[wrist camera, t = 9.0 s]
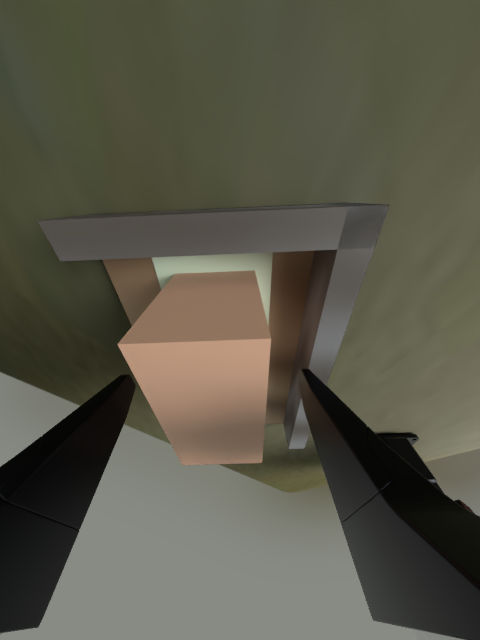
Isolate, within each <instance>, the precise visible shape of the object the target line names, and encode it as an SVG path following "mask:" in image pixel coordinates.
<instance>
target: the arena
mask: <svg viewBox="0 0 480 640" xmlns="http://www.w3.org/2000/svg"><path fill="white" fill-rule="evenodd" d="M388 208H389V205H384V204H364V203H332V204H310V205H288V206H266V207H244V208H222V209H200V210H178V211H156V212H134V213H112V214H90V215H82V216H73V217H65V218H56V219H47V220H39V221H37V222H38V223H39V225H40V227H41V229H42V230H43V232H44V234H45V236H46V237H47V239H48V241H49V242H50V244H51V246H52V248H53V249H54V251H55V253H56V255H57V256H58V258H59V260H60V261H81V260H102V261H103V263H104V265H105V267H106V270H107V272H108V274H109V276H110V278H111V281H112V283H113V285H114V287H115V290H116V292H117V294H118V296H119V299H120V301H121V303H122V305H123V307H124V310H125V312H126V314H127V316H128V319H129V321H130V323H131V325H132V326H133V325H134V323H135V322H136V321H137V320H138V318H139V317H140V316H141V315H142V314H143V312H144V311H145V310H146V309H147V307H148V306H149V305H150V304H151V303H152V301H153V300H154V299H155V298H156V296H157V295H158V294H159V293H160V291H161V290H162V289H163V288H164V287H165V285H166V284H167V283H168V282H169V280H170V279H171V278H172V277H173V276H174V274H179V273H204V272H228V271H252V270H255V273H256V278H257V282H258V286H259V290H260V294H261V298H262V303H263V307H264V311H265V315H266V319H267V324H268V328H269V332H270V336H271V347H270V361H269V375H268V389H267V403H266V416H265V424H284V429H285V434H286V438H287V443H288V448H289V449H304V448H305V445H306V442H307V439H308V436H309V433H310V431H311V430H310V427H309V424H308V421H307V418H306V415H305V412H304V408H303V403H302V398H301V393H300V389H299V384H298V377H299V372H300V369H303V368H308V369H310V370H311V371H312V372H313V373H314V374H315V375H316V376H317V377H318V378H319V379H320V380H321V381H322V382H323V383H324V384H325V385H327V382H328V379H329V376H330V373H331V370H332V368H333V365H334V362H335V359H336V356H337V353H338V350H339V348H340V345H341V342H342V339H343V336H344V333H345V330H346V328H347V325H348V322H349V319H350V316H351V313H352V310H353V308H354V305H355V302H356V299H357V296H358V293H359V290H360V288H361V285H362V282H363V279H364V276H365V273H366V270H367V268H368V265H369V262H370V259H371V256H372V253H373V250H374V248H375V245H376V242H377V239H378V236H379V233H380V230H381V228H382V225H383V222H384V219H385V216H386V213H387V210H388Z"/></svg>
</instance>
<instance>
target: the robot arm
mask: <svg viewBox="0 0 480 640" xmlns="http://www.w3.org/2000/svg"><path fill="white" fill-rule="evenodd" d="M298 384H299V389H300V393H301V398H302V403H303V408H304V412H305V415H306V418H307V421H308V424H309V427H310V430H311V433H312V437H313V440H314V443H315V446H316V449H317V452H318V455H319V458H320V461H321V464H322V467H323V470H324V473H325V476H326V479H327V482H328V485H329V488H330V491H331V494H332V497H333V500H334V503H335V506H336V509H337V513H338V516H339V519H340V522H341V525H342V528H343V531H344V534H345V537H346V540H347V543H348V546H349V549H350V552H351V555H352V558H353V562H354V564H355V568H356V571H357V574H358V577H359V580H360V582H361V586H362V589H363V592H364V595H365V598H366V601H367V604H368V607H369V610H370V613H371V616H372V618H373V620H374V621H377V622H383V623H387V624H392V625H397V626H401V627H406V628H411V629H412V631H413V633H414V636H415V638H416V640H480V517H479V516H477V515H475V514H474V512H473V511H472V510H471V509H470V507H468V506H467V505H466V504H464V503H463V502H462V501H460V500H455V501H453V500H452V499H450V498H449V497H448V496H446V495H445V494H444V493H443V491H442V490H441V488H440V487H439V485H438V484H437V483H436V479H435V477H434V476H433V474H432V473H431V472H430V470H429V469H428V468H427V466H426V465H425V463H424V462H423V460H422V459H421V457H420V456H419V455H418V453H417V452H416V450H415V449H414V447H413V446H412V445H413V444H414V443H415V442H416V441H418V440H419V438H418V436H417V435H416V434H401V435H376V434H375V433H374V432H373V431H372V430H371V429H370V428H369V427H367V425H366V424H365V423H364V422H363V421H362V420H361V419H360V418H359V417H358V416H357V415H356V414H355V413H354V412H353V411H352V410H351V409H350V408H349V407H348V406H346V405H345V404H344V403H343V402H342V401H341V400H340V399H339V398H338V397H337V396H336V395H335V394H334V393H333V392H332V391H331V390H330V389H329V388H328V387H327V386H326V385H325V384H324V383H323V382H322V381H321V380H320V379H319V378H318V377H317V376H316V375H315V374H314V373H313V372H312V371H311V370H310V369H308V368H303V369H300V372H299V377H298ZM135 387H136V386H135V383H134V381H133V379H132V377H131V376H130V375H120V376H119V377H118V378H116V379H115V380H114V381H112V382H111V383H110V384H109V385H107V386H106V387H105V388H103V389H102V390H101V391H99V392H98V393H97V394H96V395H94V396H93V397H92V398H90V399H89V400H88V401H87V402H85V403H84V404H83V405H81V406H80V407H79V408H78V409H76V410H75V411H74V412H72V413H71V414H70V415H68V416H67V417H66V418H65V419H63V420H62V421H61V422H60V423H58V424H57V425H55V426H54V427H53V428H52V429H50V430H49V431H48V432H46V433H45V434H44V435H43V436H42V437H40V438H39V439H37V440H36V441H35V442H33V443H32V444H31V445H30V446H28V447H27V448H26V449H24V450H23V451H22V452H20V453H19V454H18V455H16V456H15V457H14V458H12V459H11V460H9V461H8V462H7V463H5V464H4V465H2V466H1V467H0V635H1V634H2V633H4V632H11V631H18V630H24V629H31V628H38V627H39V625H40V623H41V620H42V618H43V616H44V614H45V611H46V609H47V607H48V604H49V602H50V600H51V597H52V595H53V592H54V590H55V588H56V585H57V583H58V580H59V578H60V576H61V573H62V571H63V569H64V566H65V563H66V561H67V559H68V557H69V554H70V552H71V549H72V547H73V545H74V542H75V540H76V537H77V535H78V533H79V529H80V527H81V525H82V522H83V520H84V518H85V516H86V513H87V511H88V508H89V506H90V504H91V501H92V499H93V496H94V494H95V492H96V489H97V487H98V484H99V482H100V480H101V477H102V475H103V472H104V470H105V468H106V465H107V463H108V460H109V458H110V456H111V453H112V451H113V448H114V446H115V443H116V441H117V439H118V436H119V434H120V432H121V429H122V427H123V425H124V422H125V420H126V417H127V414H128V411H129V408H130V404H131V401H132V398H133V395H134V391H135Z"/></svg>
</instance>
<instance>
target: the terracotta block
mask: <svg viewBox="0 0 480 640" xmlns="http://www.w3.org/2000/svg"><path fill="white" fill-rule="evenodd" d="M117 345H118V347H119V348H120V350H121V352H122V354H123V356H124V358H125V360H126V361H127V363H128V365H129V367H130V369H131V371H132V373H133V374H134V376H135V378H136V380H137V382H138V384H139V386H140V387H141V389H142V391H143V393H144V395H145V397H146V399H147V400H148V402H149V404H150V406H151V408H152V410H153V412H154V413H155V415H156V417H157V419H158V421H159V423H160V425H161V426H162V428H163V430H164V432H165V434H166V436H167V438H168V439H169V441H170V443H171V445H172V447H173V449H174V451H175V452H176V454H177V456H178V458H179V460H180V462H181V463H182V465H202V464H203V465H206V464H240V463H262V458H263V444H264V430H265V416H266V403H267V389H268V375H269V361H270V347H271V336H270V332H269V328H268V324H267V319H266V315H265V311H264V307H263V303H262V298H261V294H260V290H259V286H258V282H257V278H256V273H255V270H252V271H228V272H204V273H179V274H174V276H173V277H172V278H171V279H170V280H169V282H168V283H167V284H166V285H165V287H164V288H163V289H162V290H161V291H160V293H159V294H158V295H157V296H156V298H155V299H154V300H153V301H152V303H151V304H150V305H149V306H148V307H147V309H146V310H145V311H144V312H143V314H142V315H141V316H140V317H139V318H138V320H137V321H136V322H135V323H134V325H133V326H132V327H131V328H130V329H129V331H128V332H127V333H126V334H125V336H124V337H123V338H122V339H121V341H120V342H119V343H118V344H117Z"/></svg>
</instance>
